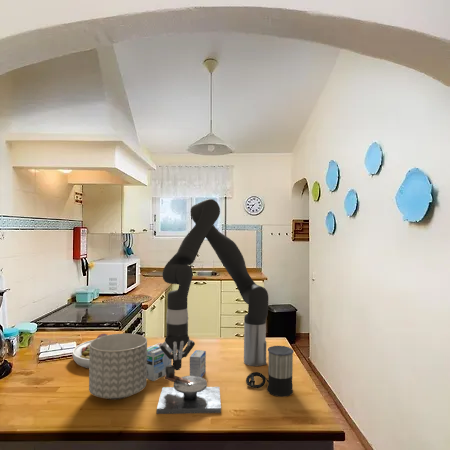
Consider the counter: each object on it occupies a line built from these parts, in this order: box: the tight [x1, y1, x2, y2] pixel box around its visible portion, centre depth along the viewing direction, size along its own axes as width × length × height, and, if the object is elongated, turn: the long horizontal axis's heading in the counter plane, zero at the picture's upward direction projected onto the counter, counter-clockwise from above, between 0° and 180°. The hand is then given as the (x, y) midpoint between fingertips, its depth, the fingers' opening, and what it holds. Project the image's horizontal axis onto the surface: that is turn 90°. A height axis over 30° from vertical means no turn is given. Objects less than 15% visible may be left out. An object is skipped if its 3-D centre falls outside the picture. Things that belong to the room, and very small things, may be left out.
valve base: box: [156, 386, 222, 415], centre depth 120 cm, size 20×15×5 cm
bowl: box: [71, 333, 108, 369], centre depth 158 cm, size 30×30×8 cm
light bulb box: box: [147, 342, 173, 382], centre depth 141 cm, size 11×7×11 cm, turn 148°
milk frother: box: [245, 345, 294, 398], centre depth 131 cm, size 14×16×15 cm
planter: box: [88, 332, 148, 401], centre depth 125 cm, size 19×19×18 cm
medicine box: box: [189, 349, 207, 378], centre depth 141 cm, size 8×4×9 cm, turn 168°
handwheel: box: [164, 364, 208, 393], centre depth 122 cm, size 16×11×4 cm
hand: (177, 369), depth 128 cm, fingers closed
